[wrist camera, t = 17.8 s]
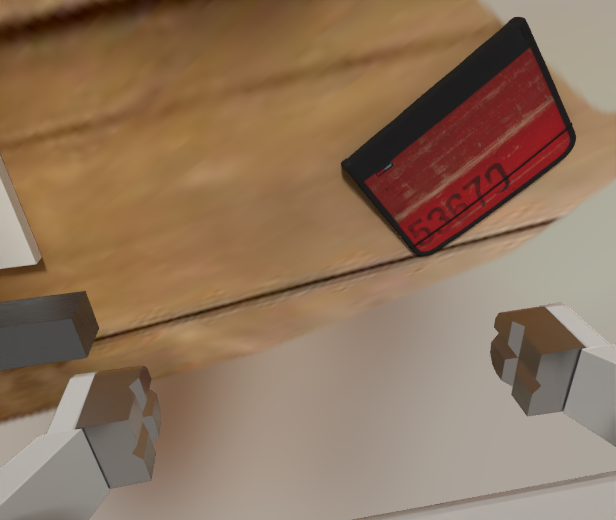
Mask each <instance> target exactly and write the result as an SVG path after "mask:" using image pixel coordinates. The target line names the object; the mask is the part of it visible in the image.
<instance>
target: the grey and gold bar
mask: <svg viewBox="0 0 616 520" xmlns="http://www.w3.org/2000/svg"><path fill="white" fill-rule="evenodd" d="M98 330H99V326H98V324H97V321H96V318H95V316H94V313H93V310H92V307H91V305H90V302H89V299H88V297H87V294H86V291H82V292H74V293H67V294H59V295H51V296H44V297H36V298H29V299H21V300H13V301H6V302H0V370H5V369H12V368H19V367H26V366H33V365H40V364H47V363H54V362H61V361H68V360H75V359H82V358H87V357H88V354H89V352H90V349H91V347H92V344H93V342H94V339H95V337H96V335H97V332H98Z"/></svg>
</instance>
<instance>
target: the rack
mask: <svg viewBox="0 0 616 520" xmlns="http://www.w3.org/2000/svg"><path fill="white" fill-rule="evenodd" d="M41 258H42V256H41V254H40V251H39V249H38V246H37V244H36V241H35V239H34V237H33V234H32V232H31V229H30V227H29V224H28V222H27V219H26V217H25V214H24V212H23V210H22V207H21V205H20V202H19V200H18V197H17V195H16V192H15V190H14V187H13V185H12V182H11V180H10V178H9V175H8V173H7V170H6V168H5V165H4V163H3V160H2V158H1V155H0V269H3V268H11V267H19V266H27V265H35V264H37V263H38V262H39V260H40V259H41Z"/></svg>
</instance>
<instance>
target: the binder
mask: <svg viewBox="0 0 616 520" xmlns="http://www.w3.org/2000/svg"><path fill="white" fill-rule="evenodd" d="M575 141H576V135H575V131H574V129H573V127H572V123H571V122H570V119H569V117H568V115H567V113H566V110H565V108H564V106H563V103H562V101H561V99H560V96H559V94H558V92H557V89H556V87H555V84H554V82H553V80H552V78H551V75H550V73H549V71H548V68H547V66H546V64H545V62H544V59H543V57H542V55H541V53H540V51H539V48H538V46H537V44H536V42H535V39H534V37H533V35H532V33H531V30H530V28H529V26H528V24H527V22H526V20H525V18H522V17H514V18H512V19H511V20H509V21H508V22H507V23H506V24H505V26H504V27H503V28H502V29H500V30H499V31H498V32H497V33H496V34H495V35H493V36H492V37H491V38H490V39H488V40H487V41H486V42H485V43H484V44H482V45H481V46H480V47H479V48H478V49H476V50H475V51H474V52H473V53H472V54H471V55H469V56H468V57H467V58H466V59H465V60H464V61H463V62H461V63H460V64H459V65H458V66H457V67H456V68H455V69H453V70H452V71H451V72H450V73H448V74H447V75H446V76H445V77H443V78H442V79H441V80H440V81H439V82H437V83H436V84H435V85H434V86H433V87H431V88H430V89H429V90H428V91H427V92H425V93H424V94H423V95H422V96H421V97H420V98H418V99H417V100H416V101H415V102H414V103H413V104H411V105H410V106H409V107H408V108H407V109H406V110H404V111H403V112H402V113H401V114H400V115H399V116H398V117H397V118H395V119H394V120H393V121H392V122H391V123H389V124H388V125H387V126H385V127H384V128H383V129H382V130H380V131H379V132H378V133H377V134H376V135H374V136H373V137H372V138H371V139H370V140H369V141H367V142H366V143H365V144H364V145H363V146H361V147H360V148H359V149H358V150H357V151H356V152H355V153H353V154H352V155H351V156H350V157H349V158H348V159H345V160H344V161H342V162H341V165H342V166H343V168H344V169H345V170H346V171H347V172H348V173H349V174H350V175H351V176H352V178H353V179H354V180H355V181H356V183H357V184H358V185H359V186H360V188H361V189H362V190H363V191H364V193H365V194H366V195H367V196H368V198H369V199H370V200H371V201H372V202H373V204H374V205H375V206H376V207H377V208H378V210H379V211H380V212H381V213H382V214H383V215H384V217H385V218H386V219H387V220H388V222H389V223H390V224H391V225H392V226H393V228H394V229H395V230H396V231H397V233H398V234H399V235H400V236H401V237H402V239H403V240H404V241H405V242H406V243H407V245H408V246H409V248H410V249H412V250H413V252H414V253H416V254H418V255H421V256H427V255H430V254H432V253H434V252H436V251H437V250H439V249H441V248H442V247H443V246H445V245H446V244H448V243H449V242H451V241H452V240H454V239H455V238H457V237H458V236H460V235H461V234H463V233H464V232H466V231H467V230H468V229H470V228H471V227H473V226H474V225H475V224H477V223H478V222H480V221H481V220H482V219H484V218H485V217H486V216H488V215H489V214H491V213H492V212H493V211H495V210H496V209H497V208H499V207H500V206H501V205H503V204H504V203H506V202H507V201H508V200H510V199H511V198H512V197H514V196H515V195H516V194H518V193H519V192H520V191H522V190H523V189H525V188H526V187H527V186H529V185H530V184H531V183H533V182H534V181H535V180H536V179H538V178H539V177H540V176H542V175H543V174H544V173H546V172H547V171H548V170H549V169H551V168H552V167H553V166H555V165H556V164H557V163H559V162H560V161H561V160H562V159H564V158H565V157H566V156H567V155H568V154H569V153H570V151H571V150H572V149H573V147H574V145H575Z"/></svg>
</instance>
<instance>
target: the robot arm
mask: <svg viewBox="0 0 616 520" xmlns="http://www.w3.org/2000/svg"><path fill="white" fill-rule="evenodd" d="M494 328H495V329H496V330H497V331H498V333H499V334H498V335H497V336H496V337H495V339H494V340H493V341H492V342H491V351H490V354H491V359H492V364H493V367H494V369H495V371H496V373H497V375H498V376H499V378H500V379H501V380H502V381H504V382H505V383H507V384H509V385H511V386H513V388H512V396H513V397H514V399H515V400H516V402H517V403H518V404H519V405H520V407H521V408H522V410H523V411H524V412H525V414H526V415H527V416H534V415H540V414H548V413H554V412H561V411H564V412H563V413H564V414H565V415H567V416H569V417H570V418H572V419H573V420H575V421H576V422H578V423H580V424H581V425H583V426H584V427H586V428H587V429H589V430H590V431H592V432H594V433H595V434H597V435H598V436H600V437H602V438H603V439H605V440H606V441H608V442H609V443H611V444H612V445H614V446H616V344H611V345H610V344H609V343H608V342H607V341H605V340H604V339H603V338H602V337H601V336H600V335H599V334H598V333H597V332H596V331H594V330H593V329H592V328H591V327H590V326H589V325H588V324H587V323H585V321H583V320H582V319H581V318H580V317H579V316H578V315H577V314H576V313H575V312H573V311H572V310H571V309H570V308H569V307H568V306H567V305H565V304H562V303H555V304H549V305H543V306H539V307H533V308H527V309H521V310H515V311H508V312H501V313H499V314H498V315H497V317H496V319H495V324H494ZM150 383H151V376H150V374H149V371H148V368H147V367H145V366H137V367H129V368H121V369H113V370H106V371H99V372H93V373H85V374H77V375H74V376H73V377H72V378H71V379H70V380H69V382H68V385H67V387H66V389H65V392H64V394H63V396H62V398H61V401H60V403H59V405H58V408H57V410H56V412H55V415H54V417H53V419H52V421H51V424H50V426H49V428H48V431H47V433H46V434H45V435H39V436H37V437H36V438H35V439H34V440H33V441H31V443H29V444H28V445H27V446H26V447H24V448H23V449H22V450H21V451H20V452H19V453H18V454H16V455H15V456H14V457H13V458H11V459H10V460H9V461H8V462H7V463H6V464H4V465H3V466H2V467H1V468H0V520H89V518H90V517H91V516H92V515H93V513H94V512H95V511H96V509H97V508H98V507H99V505H100V504H101V503H102V501H103V500H104V499H105V497H106V496H107V495H108V493H109V491H110V490H109V489H111V488H117V487H122V486H127V485H132V484H137V483H142V482H147V481H151V479H152V473H153V467H154V461H155V456H156V452H155V449H154V446H153V442H154V441H155V440H156V439H157V438H158V437H159V431H160V407H159V401H158V398H157V395H156V393H155V392H153V391H152V390H150V389H149V388H150ZM354 520H616V471H613V472H607V473H602V474H596V475H591V476H585V477H580V478H575V479H569V480H564V481H558V482H553V483H548V484H542V485H537V486H532V487H526V488H521V489H516V490H510V491H505V492H499V493H494V494H489V495H484V496H478V497H473V498H468V499H462V500H456V501H452V502H446V503H440V504H435V505H430V506H424V507H419V508H413V509H409V510H403V511H397V512H392V513H387V514H381V515H376V516H370V517H364V518H360V519H354Z"/></svg>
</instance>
